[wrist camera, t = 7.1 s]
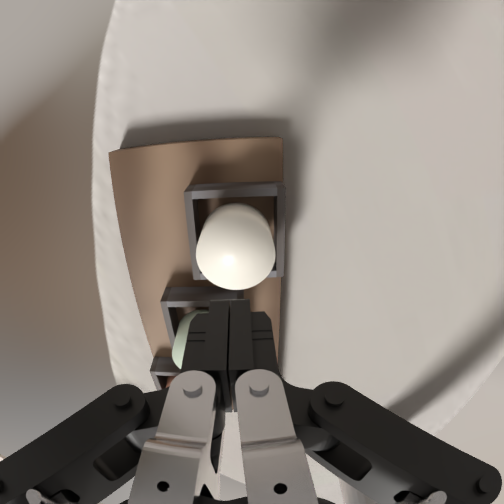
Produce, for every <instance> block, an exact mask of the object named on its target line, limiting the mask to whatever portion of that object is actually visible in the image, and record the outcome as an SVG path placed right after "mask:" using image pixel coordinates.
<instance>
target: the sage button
mask: <svg viewBox="0 0 504 504" xmlns="http://www.w3.org/2000/svg"><path fill="white" fill-rule="evenodd" d="M197 313H209V310H195V311H192V312H189V313H188V314H186V315H185V316H184V317H183V318H182V319H181V320H180V323H179V326H178V330H177V334H176V338H175V342H174V346H173V350H172V358H173V361H174V363H175V364H176V365H177V366H178V367H179V368H180V369H181V366H182V360H183V355H184V350H185V345H186V340H187V335H188V330H189V325H190V322H191V320H192V319H193V318H194V317H195V315H196V314H197Z"/></svg>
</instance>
